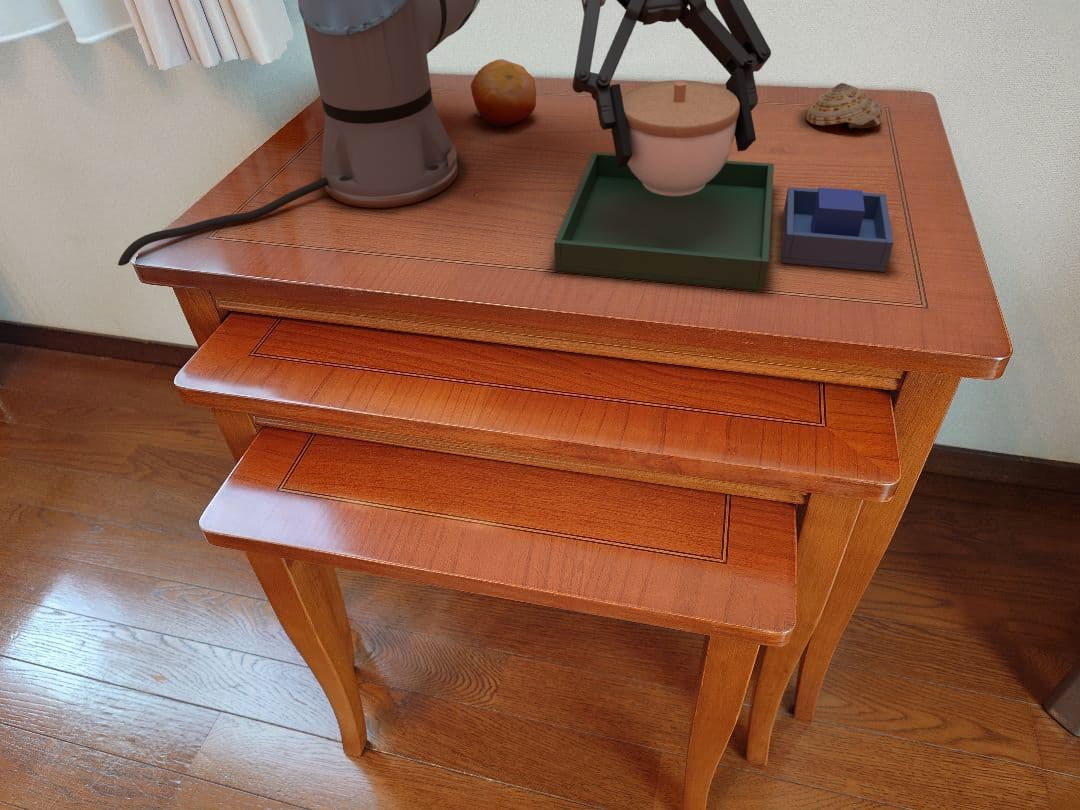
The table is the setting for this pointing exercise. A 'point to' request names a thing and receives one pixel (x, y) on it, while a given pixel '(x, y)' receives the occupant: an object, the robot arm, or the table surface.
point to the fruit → (503, 93)
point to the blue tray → (836, 249)
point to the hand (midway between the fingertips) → (686, 153)
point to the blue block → (838, 212)
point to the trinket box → (679, 134)
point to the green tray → (669, 227)
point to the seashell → (845, 108)
